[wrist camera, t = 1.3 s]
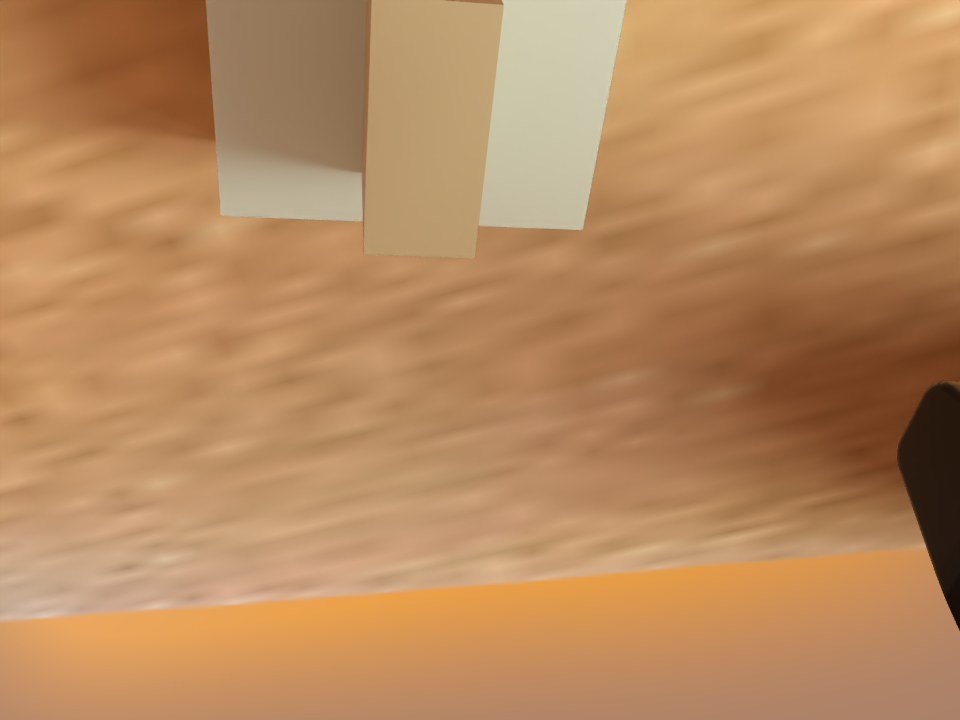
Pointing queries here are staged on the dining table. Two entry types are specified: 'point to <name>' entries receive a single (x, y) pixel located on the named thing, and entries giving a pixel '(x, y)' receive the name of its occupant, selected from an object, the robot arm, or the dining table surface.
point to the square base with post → (411, 114)
